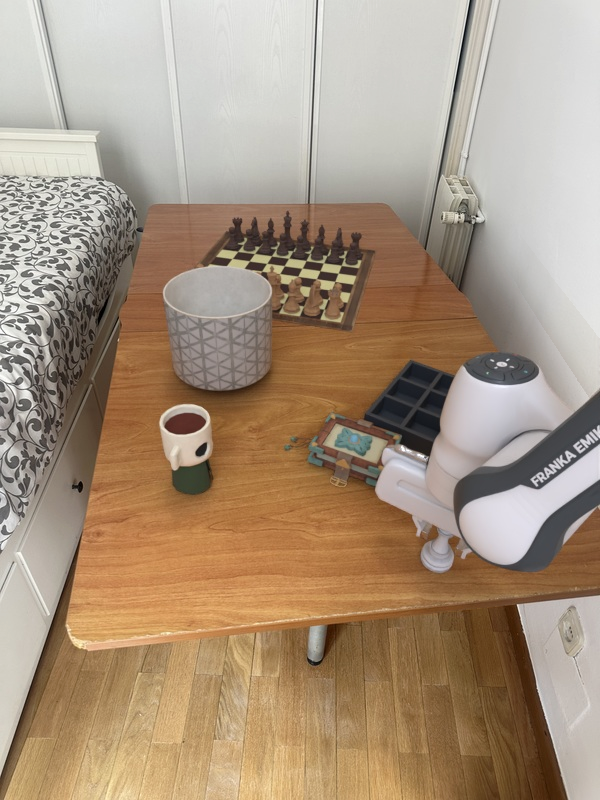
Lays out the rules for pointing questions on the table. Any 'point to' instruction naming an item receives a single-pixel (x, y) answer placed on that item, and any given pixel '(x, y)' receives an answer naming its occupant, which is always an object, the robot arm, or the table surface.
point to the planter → (219, 326)
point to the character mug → (188, 446)
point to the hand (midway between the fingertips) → (441, 544)
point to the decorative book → (350, 448)
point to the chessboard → (300, 272)
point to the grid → (413, 405)
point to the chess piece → (438, 553)
